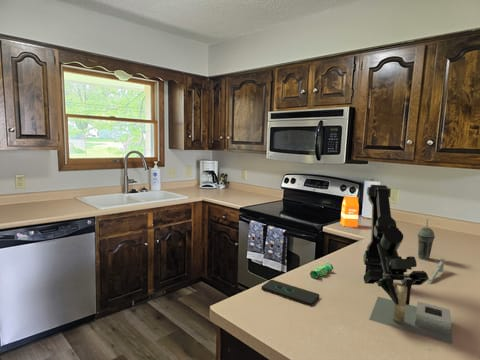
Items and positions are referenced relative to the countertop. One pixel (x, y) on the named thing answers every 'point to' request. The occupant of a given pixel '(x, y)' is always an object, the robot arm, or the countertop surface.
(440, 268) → the caliper
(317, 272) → the candy
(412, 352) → the countertop surface
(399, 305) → the pin
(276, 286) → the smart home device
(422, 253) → the beverage cup
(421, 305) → the square peg hole block
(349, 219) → the orange juice
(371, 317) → the mat
